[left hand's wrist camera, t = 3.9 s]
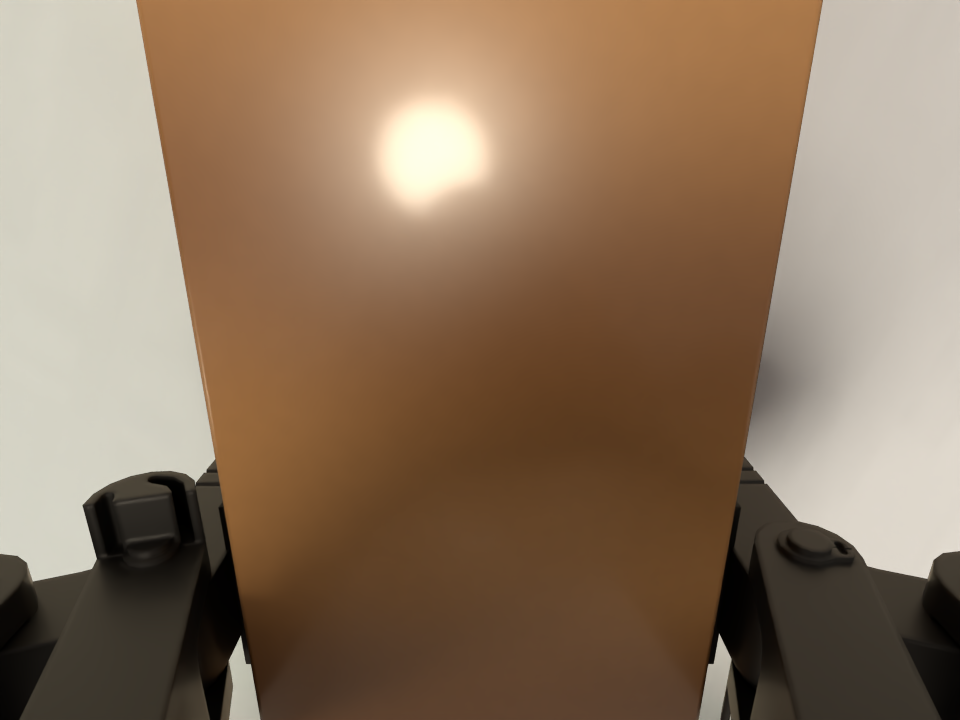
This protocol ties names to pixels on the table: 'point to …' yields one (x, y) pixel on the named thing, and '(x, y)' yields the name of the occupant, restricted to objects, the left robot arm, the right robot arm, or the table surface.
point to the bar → (479, 333)
